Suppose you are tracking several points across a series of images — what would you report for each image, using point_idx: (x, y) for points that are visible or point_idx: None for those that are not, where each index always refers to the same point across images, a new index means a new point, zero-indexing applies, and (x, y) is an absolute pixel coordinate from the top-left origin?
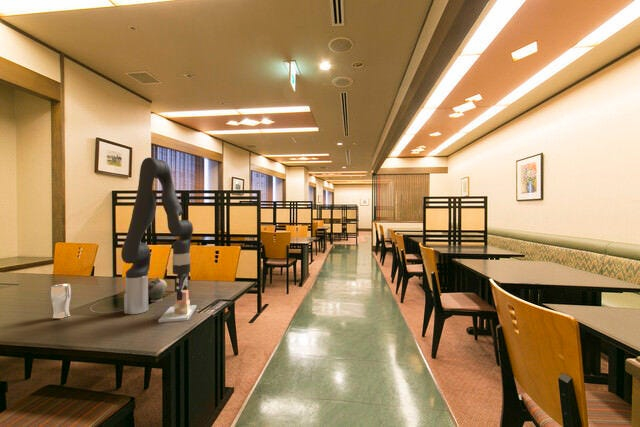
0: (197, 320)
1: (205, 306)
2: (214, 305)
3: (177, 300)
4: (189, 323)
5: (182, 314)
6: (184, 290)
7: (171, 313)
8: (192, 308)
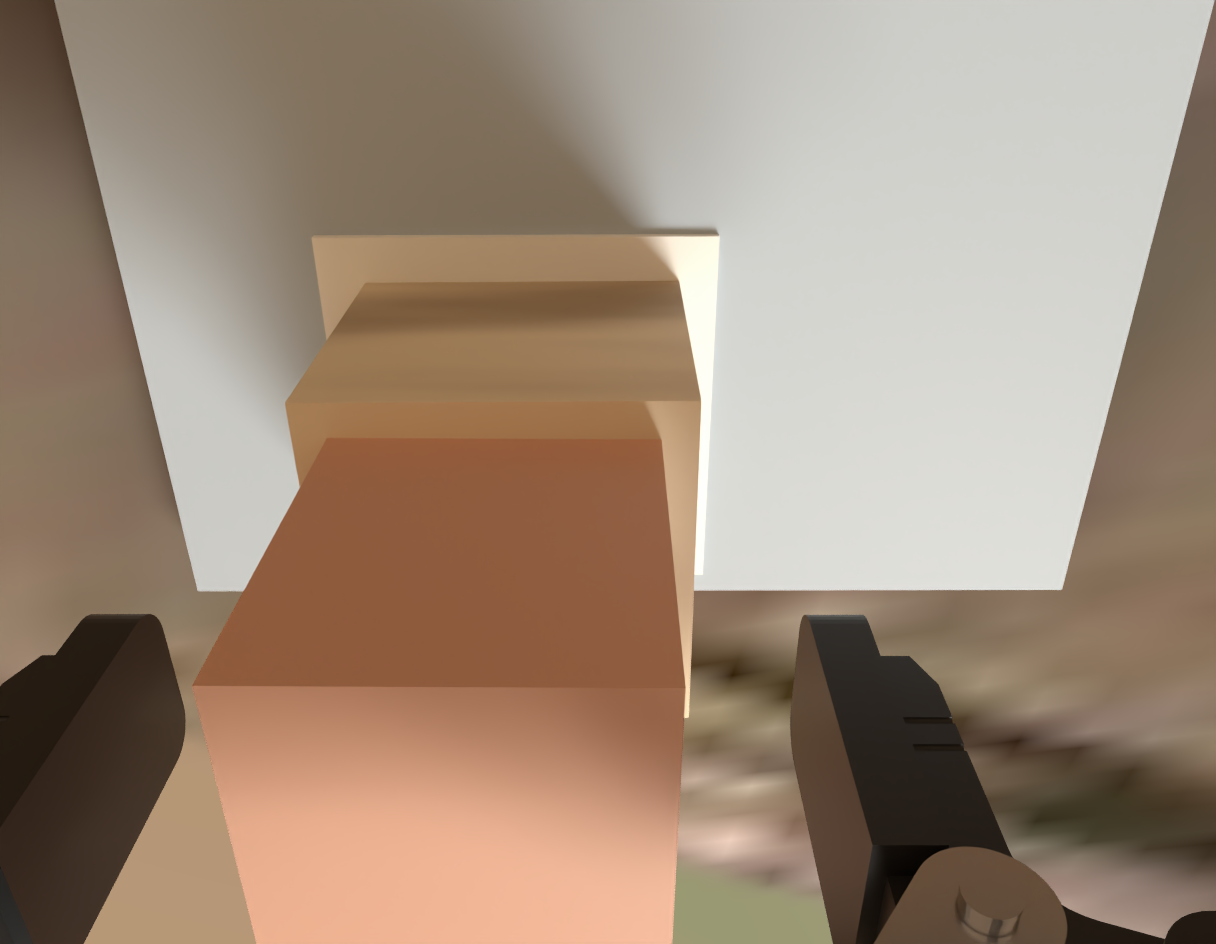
0: None
1: (1021, 708)
2: (1015, 834)
3: (104, 621)
4: (61, 616)
5: None
6: (586, 905)
7: (537, 161)
8: (809, 563)
